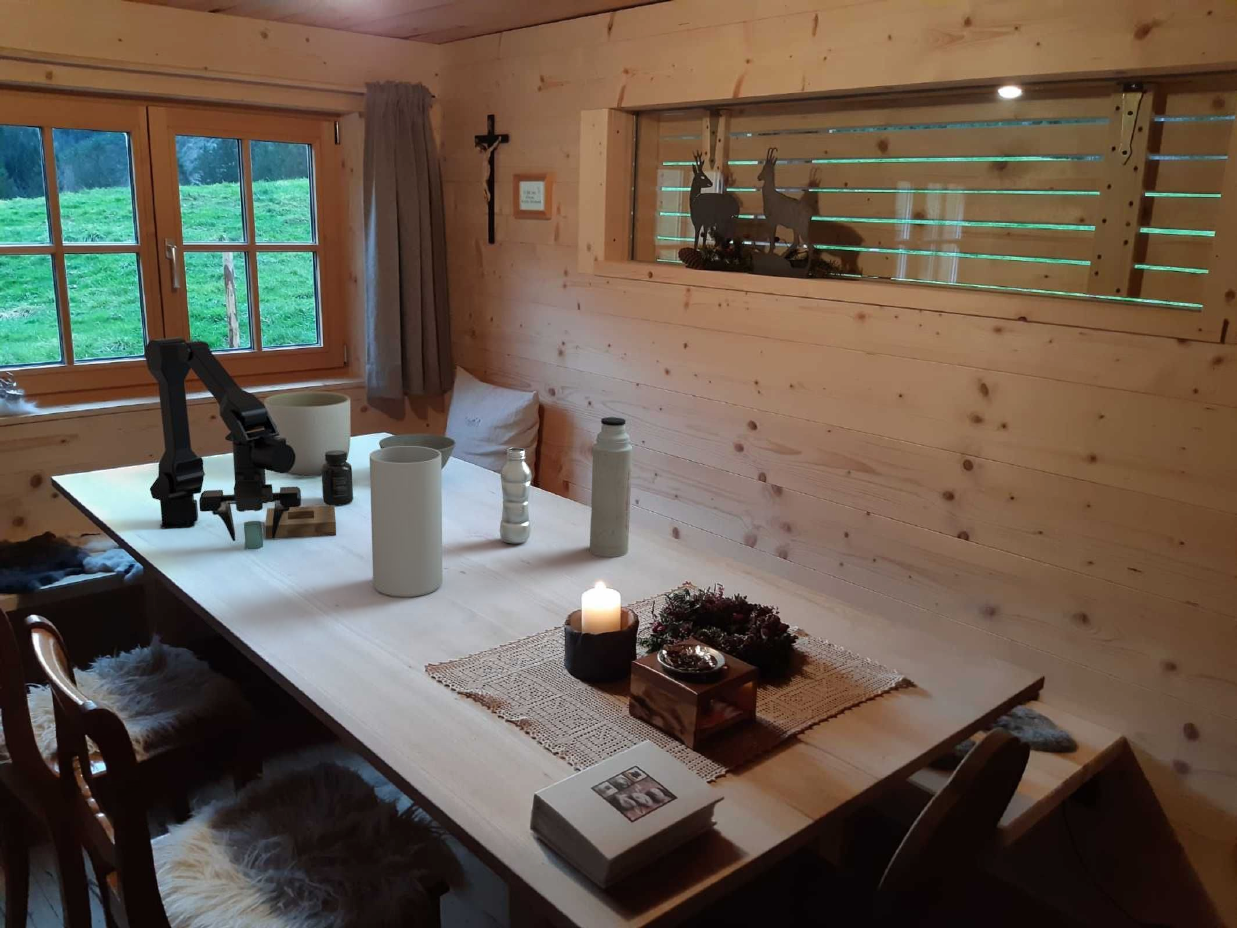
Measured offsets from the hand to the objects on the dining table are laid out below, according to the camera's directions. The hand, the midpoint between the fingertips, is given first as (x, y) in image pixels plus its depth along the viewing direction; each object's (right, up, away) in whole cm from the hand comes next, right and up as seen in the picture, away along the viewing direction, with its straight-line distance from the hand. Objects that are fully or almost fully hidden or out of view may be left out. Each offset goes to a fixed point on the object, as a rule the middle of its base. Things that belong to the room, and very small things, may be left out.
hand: (253, 539), depth 196 cm
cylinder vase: (+35, -7, -16) cm, 39 cm away
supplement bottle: (+8, +6, +31) cm, 33 cm away
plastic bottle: (+52, -1, +9) cm, 53 cm away
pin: (0, -1, 0) cm, 2 cm away
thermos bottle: (+71, -3, +6) cm, 72 cm away
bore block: (+6, +1, +12) cm, 14 cm away
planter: (-6, +13, +56) cm, 58 cm away
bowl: (+22, +11, +52) cm, 58 cm away
